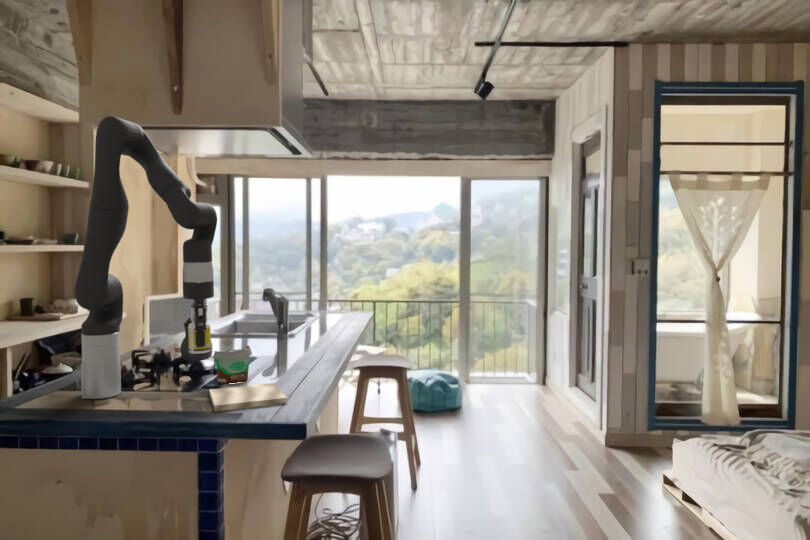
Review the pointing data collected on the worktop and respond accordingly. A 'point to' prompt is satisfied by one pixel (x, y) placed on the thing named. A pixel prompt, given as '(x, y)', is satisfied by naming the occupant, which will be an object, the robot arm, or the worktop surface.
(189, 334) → the supplement bottle
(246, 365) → the food container
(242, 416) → the worktop surface
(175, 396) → the worktop surface
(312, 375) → the worktop surface
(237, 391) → the birch board
